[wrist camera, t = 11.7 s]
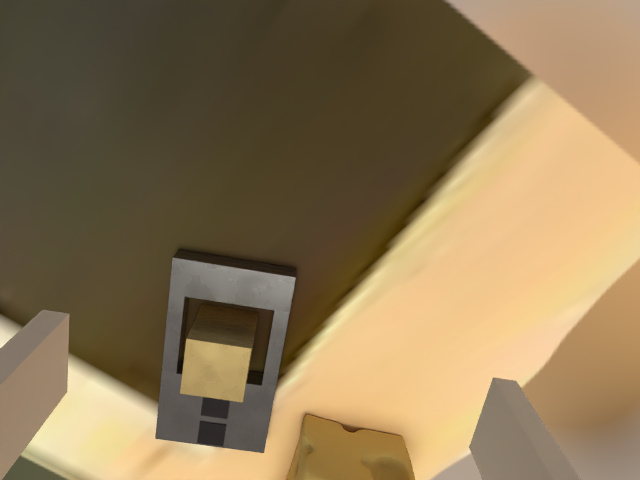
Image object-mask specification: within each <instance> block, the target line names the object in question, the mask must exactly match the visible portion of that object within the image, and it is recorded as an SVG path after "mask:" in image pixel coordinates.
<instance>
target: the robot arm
mask: <svg viewBox="0 0 640 480" xmlns="http://www.w3.org/2000/svg"><path fill="white" fill-rule="evenodd" d="M68 340H69V314H67V313H60V312H53V311H47V310H42V311H41V312H40V313H39V314H38V315H37V316H35V317H34V318H33V319H32V320H31V321H30V322H29V323H28V324H27V325H26V326H25V327H23V328H22V329H21V330H20V331H19V332H18V333H17V334H16V335H15V336H14V337H13V338H11V339H10V340H9V341H8V342H7V343H6V344H5V345H4V346H3V347H2V348H0V480H2V478H3V477H4V476H5V475H6V473H7V472H8V471H9V469H10V468H11V466H12V465H13V464H14V462H15V461H16V460H17V458H18V457H19V456H20V454H21V453H22V452H23V450H24V449H25V448H26V446H27V445H28V444H29V442H30V441H31V440H32V438H33V437H34V436H35V434H36V433H37V432H38V430H39V429H40V427H41V426H42V425H43V423H44V422H45V421H46V419H47V418H48V417H49V415H50V414H51V413H52V411H53V410H54V409H55V407H56V406H57V405H58V403H59V402H60V401H61V399H62V398H63V397H64V395H65V394H66V393H67V378H68ZM469 448H470V450H471V453H472V455H473V457H474V460H475V462H476V465H477V467H478V469H479V472H480V474H481V477H482V479H483V480H581V479H580V477H579V476H578V474H577V473H576V471H575V470H574V468H573V467H572V465H571V464H570V462H569V461H568V459H567V458H566V456H565V455H564V453H563V452H562V450H561V449H560V447H559V445H558V444H557V442H556V441H555V439H554V438H553V436H552V435H551V433H550V432H549V430H548V429H547V427H546V426H545V424H544V423H543V421H542V420H541V418H540V417H539V415H538V413H537V412H536V410H535V409H534V408H533V406H532V404H531V403H530V401H529V400H528V398H527V397H526V395H525V394H524V392H523V391H522V389H521V387H520V386H519V384H518V383H517V381H513V380H506V379H500V378H493V379H492V382H491V385H490V388H489V391H488V394H487V397H486V400H485V403H484V406H483V409H482V412H481V414H480V417H479V420H478V423H477V426H476V429H475V432H474V435H473V438H472V441H471V444H470V447H469Z"/></svg>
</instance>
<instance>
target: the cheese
mask: <svg viewBox="0 0 640 480" xmlns="http://www.w3.org/2000/svg"><path fill="white" fill-rule="evenodd" d="M287 480H415V477H414V472H413V468H412V464H411V460H410V457H409V454H408V451H407V448H406V445H405V443H404V440H403V438H402V437H401V436H398V435H393V434H388V433H382V432H377V431H372V430H366V429H363V430H358V431H357V432H354V433H351V432H348V431H346V430H344V429H343V427H342V425H341V424H340V423H337V422H333V421H330V420H326V419H322V418H319V417H316V416H312V415H305V417H304V420H303V424H302V428H301V434H300V439H299V443H298V446H297V449H296V452H295V455H294V458H293V462H292V465H291V468H290V471H289V474H288V477H287Z"/></svg>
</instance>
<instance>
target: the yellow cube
mask: <svg viewBox="0 0 640 480" xmlns="http://www.w3.org/2000/svg"><path fill="white" fill-rule="evenodd" d="M258 315H259V313H256V312H250V311H244V310H237V309H231V308H225V307H218V306H212V305H206V304H202V305H201V307H200V310H199V312H198V314H197V316H196V319H195V321H194V323H193V325H192V327H191V330H190V332H189V334H188V336H187V339H186V347H185V355H184V364H183V372H182V381H181V389H180V394H187V395H194V396H201V397H208V398H215V399H222V400H229V401H236V402H243V398H244V393H245V388H246V383H247V378H248V373H249V368H250V363H251V357H252V351H253V345H254V339H255V333H256V327H257V321H258Z"/></svg>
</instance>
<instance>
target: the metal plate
mask: <svg viewBox="0 0 640 480" xmlns="http://www.w3.org/2000/svg"><path fill="white" fill-rule="evenodd" d="M295 280H296V268H292V267H286V266H280V265H273V264H267V263H261V262H255V261H249V260H243V259H237V258H230V257H224V256H218V255H212V254H206V253H200V252H193V251H187V250H181V249H179V250H178V251H177V252H176V254H175V255H174V257H173V261H172V271H171V282H170V292H169V302H168V313H167V323H166V334H165V344H164V354H163V365H162V375H161V386H160V396H159V406H158V417H157V427H156V438H155V439H162V440H170V441H177V442H185V443H192V444H200V445H207V446H215V447H222V448H230V449H237V450H245V451H252V452H260V453H264V449H265V444H266V438H267V433H268V427H269V422H270V416H271V411H272V405H273V400H274V394H275V389H276V384H277V378H278V373H279V367H280V362H281V356H282V351H283V345H284V340H285V334H286V329H287V323H288V318H289V312H290V307H291V301H292V296H293V291H294V285H295ZM189 297H192V298H198V299H204V300H211V301H217V302H224V303H230V304H237V305H243V306H249V307H256V308H262V309H269V310H274V315H273V321H272V327H271V333H270V339H269V345H268V350H267V356H266V362H265V368H264V373H262V372H255V371H249V373H248V378H247V383H246V388H245V393H244V398H243V402H236V401H229V400H222V399H215V398H208V397H201V396H194V395H187V394H180V389H181V381H182V372H183V364H184V361H182V354H183V345H184V336H185V327H186V318H187V309H188V300H189Z"/></svg>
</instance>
